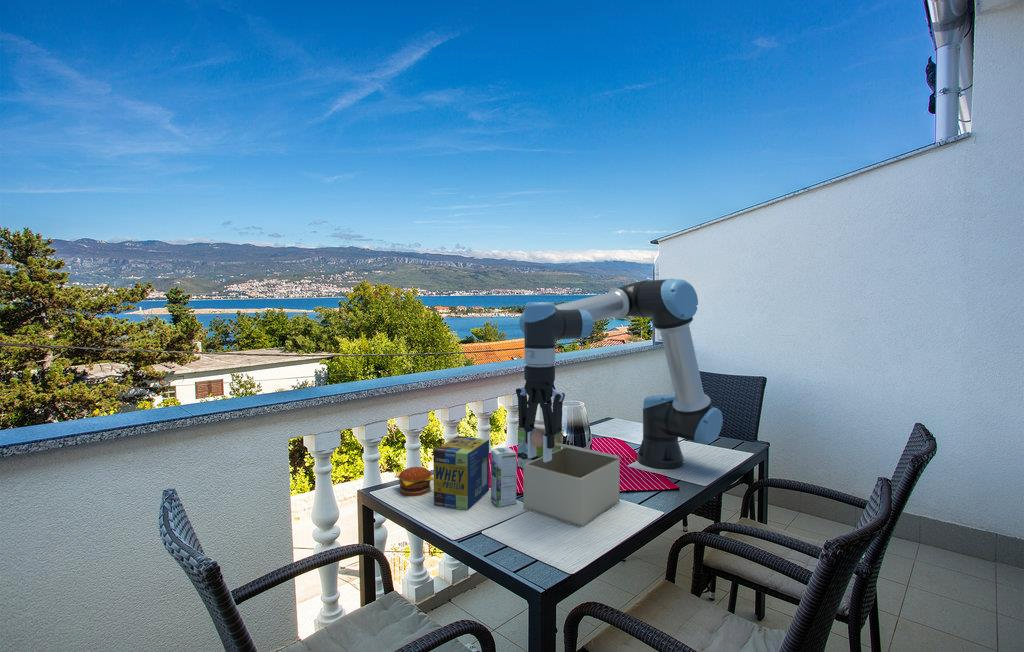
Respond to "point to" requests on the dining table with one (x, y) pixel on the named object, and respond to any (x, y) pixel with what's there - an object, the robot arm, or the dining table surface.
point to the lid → (538, 441)
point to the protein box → (461, 472)
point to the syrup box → (503, 476)
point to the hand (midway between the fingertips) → (539, 458)
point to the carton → (571, 485)
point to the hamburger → (415, 481)
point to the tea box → (524, 447)
